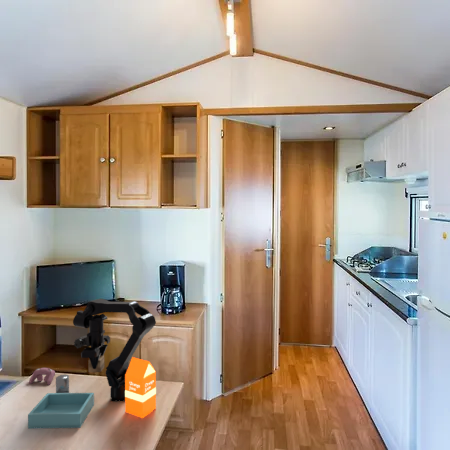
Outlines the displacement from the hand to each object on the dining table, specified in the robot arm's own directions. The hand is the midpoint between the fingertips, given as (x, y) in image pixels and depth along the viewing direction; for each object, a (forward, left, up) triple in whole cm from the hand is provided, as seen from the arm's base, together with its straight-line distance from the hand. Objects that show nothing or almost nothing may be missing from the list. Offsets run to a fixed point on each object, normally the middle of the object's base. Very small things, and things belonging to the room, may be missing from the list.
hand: (96, 366), depth 154 cm
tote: (+7, +18, -11) cm, 23 cm away
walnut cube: (0, 0, -2) cm, 2 cm away
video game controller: (+27, -9, -11) cm, 30 cm away
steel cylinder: (+14, +1, -11) cm, 18 cm away
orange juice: (-21, +15, -11) cm, 29 cm away
